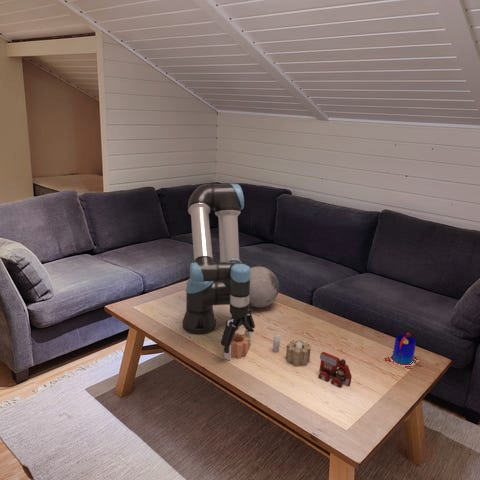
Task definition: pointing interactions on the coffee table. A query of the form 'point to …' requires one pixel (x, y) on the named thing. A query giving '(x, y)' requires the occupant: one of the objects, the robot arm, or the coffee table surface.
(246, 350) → the loose gear
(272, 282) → the moon model
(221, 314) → the coffee table surface
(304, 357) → the gear
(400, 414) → the coffee table surface
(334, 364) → the toy fire truck
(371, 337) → the coffee table surface
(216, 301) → the robot arm
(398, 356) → the fantasy tower
